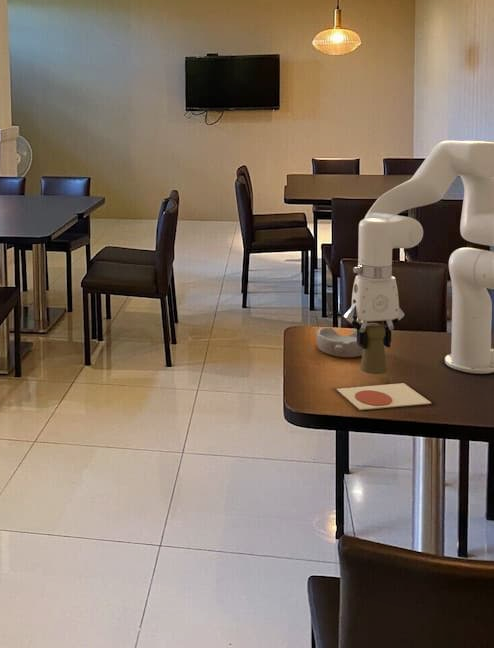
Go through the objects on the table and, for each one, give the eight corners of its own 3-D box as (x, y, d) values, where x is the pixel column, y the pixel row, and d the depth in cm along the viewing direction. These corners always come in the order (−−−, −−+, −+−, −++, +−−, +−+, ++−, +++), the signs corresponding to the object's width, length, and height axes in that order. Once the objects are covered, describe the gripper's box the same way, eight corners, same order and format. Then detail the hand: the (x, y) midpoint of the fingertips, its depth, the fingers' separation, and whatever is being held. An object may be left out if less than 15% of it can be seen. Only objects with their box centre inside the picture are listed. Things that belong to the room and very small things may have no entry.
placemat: (403, 384, 184) (403, 382, 184) (431, 403, 172) (431, 401, 172) (336, 389, 181) (336, 387, 181) (360, 410, 169) (360, 408, 169)
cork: (388, 375, 171) (389, 328, 170) (361, 373, 172) (362, 327, 171) (384, 365, 177) (385, 320, 176) (358, 364, 178) (359, 319, 177)
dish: (312, 342, 215) (312, 325, 215) (360, 342, 215) (360, 325, 215) (324, 360, 201) (324, 342, 201) (375, 360, 200) (375, 342, 200)
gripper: (348, 276, 168) (347, 354, 169) (417, 273, 171) (415, 349, 172) (333, 269, 175) (333, 343, 177) (399, 265, 178) (398, 338, 179)
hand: (373, 345), depth 174 cm, fingers closed on cork, 5 cm apart
